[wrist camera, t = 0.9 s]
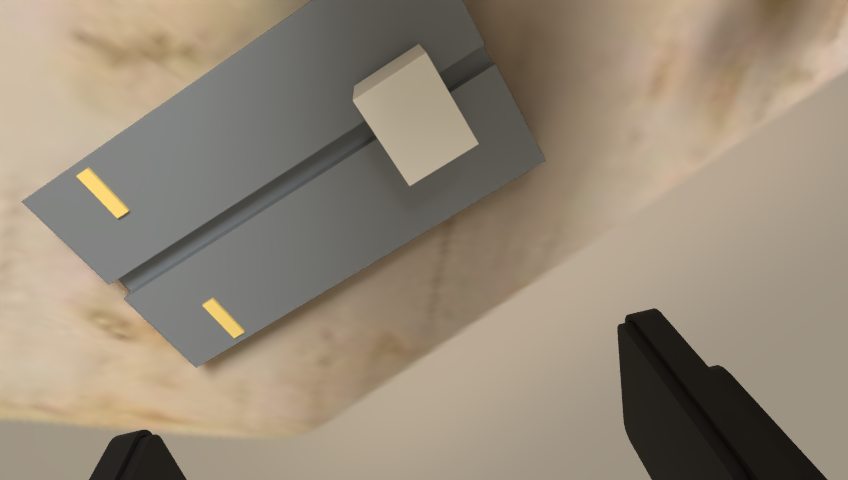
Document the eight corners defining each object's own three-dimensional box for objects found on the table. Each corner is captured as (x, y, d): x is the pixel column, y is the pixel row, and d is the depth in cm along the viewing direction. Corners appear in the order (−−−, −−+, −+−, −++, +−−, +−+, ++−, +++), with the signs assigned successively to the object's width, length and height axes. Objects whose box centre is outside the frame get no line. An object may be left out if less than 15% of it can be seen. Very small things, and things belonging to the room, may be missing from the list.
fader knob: (417, 41, 29) (426, 52, 24) (462, 120, 31) (478, 144, 26) (354, 82, 30) (352, 100, 25) (403, 157, 32) (409, 186, 27)
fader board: (418, -72, 28) (423, -77, 26) (534, 148, 34) (546, 161, 32) (45, 186, 32) (19, 202, 30) (206, 344, 38) (195, 369, 35)
